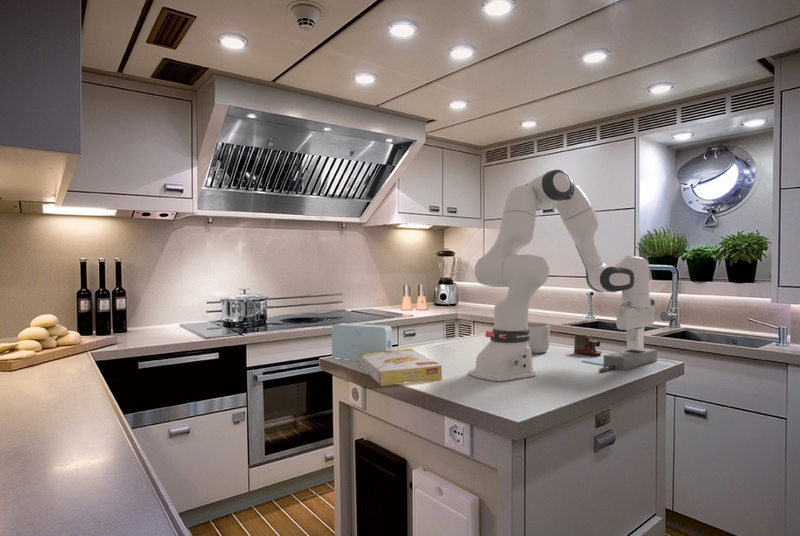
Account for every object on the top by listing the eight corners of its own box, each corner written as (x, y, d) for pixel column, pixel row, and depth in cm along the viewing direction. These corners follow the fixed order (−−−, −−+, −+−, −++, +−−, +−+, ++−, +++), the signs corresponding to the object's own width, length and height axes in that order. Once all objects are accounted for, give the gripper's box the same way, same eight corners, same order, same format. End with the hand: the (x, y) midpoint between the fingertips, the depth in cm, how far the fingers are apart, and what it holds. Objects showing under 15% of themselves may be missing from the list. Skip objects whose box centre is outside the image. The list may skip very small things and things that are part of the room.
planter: (554, 354, 189) (554, 326, 189) (522, 354, 189) (522, 327, 189) (544, 348, 202) (544, 322, 201) (514, 349, 201) (514, 322, 201)
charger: (638, 349, 170) (638, 328, 170) (626, 347, 173) (627, 327, 173) (643, 347, 172) (643, 327, 172) (632, 346, 175) (632, 326, 175)
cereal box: (411, 347, 178) (443, 362, 152) (411, 362, 178) (443, 380, 152) (357, 353, 171) (381, 369, 145) (358, 368, 171) (382, 388, 145)
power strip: (610, 374, 156) (610, 361, 156) (590, 370, 161) (590, 358, 161) (656, 360, 176) (656, 349, 176) (637, 357, 181) (637, 346, 181)
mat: (602, 365, 169) (602, 364, 169) (581, 361, 175) (581, 360, 175) (614, 362, 174) (614, 361, 174) (593, 358, 180) (593, 357, 180)
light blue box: (330, 359, 185) (330, 324, 185) (339, 356, 190) (338, 323, 190) (385, 364, 175) (384, 328, 175) (392, 361, 180) (391, 325, 180)
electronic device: (597, 356, 184) (597, 337, 184) (573, 353, 191) (573, 334, 191) (602, 355, 187) (602, 335, 187) (578, 352, 194) (578, 333, 194)
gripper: (629, 303, 163) (629, 344, 164) (657, 300, 176) (657, 338, 176) (611, 302, 168) (611, 342, 169) (640, 299, 181) (640, 336, 181)
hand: (635, 340), depth 172 cm, fingers closed on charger, 4 cm apart
